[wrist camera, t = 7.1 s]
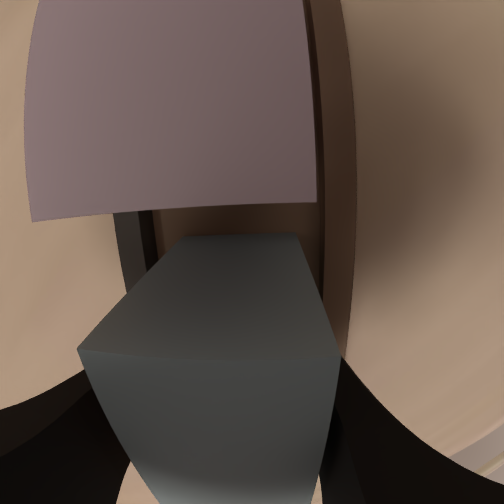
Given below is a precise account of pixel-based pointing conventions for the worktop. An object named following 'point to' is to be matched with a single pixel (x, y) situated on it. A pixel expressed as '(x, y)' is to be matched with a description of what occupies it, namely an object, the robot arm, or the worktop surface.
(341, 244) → the shelf ledge
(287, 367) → the box
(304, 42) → the box
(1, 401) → the worktop surface
